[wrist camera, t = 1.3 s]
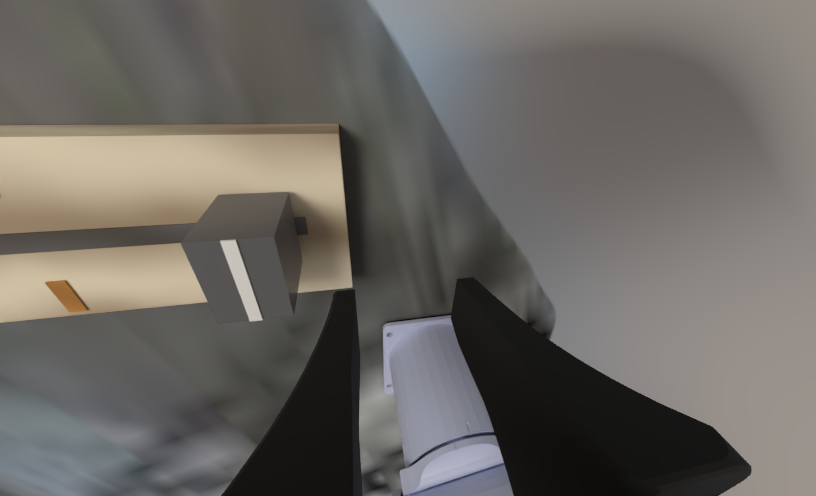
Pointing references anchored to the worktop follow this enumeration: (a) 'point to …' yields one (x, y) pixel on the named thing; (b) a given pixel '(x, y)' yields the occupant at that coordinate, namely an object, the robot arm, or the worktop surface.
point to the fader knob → (247, 256)
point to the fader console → (151, 209)
